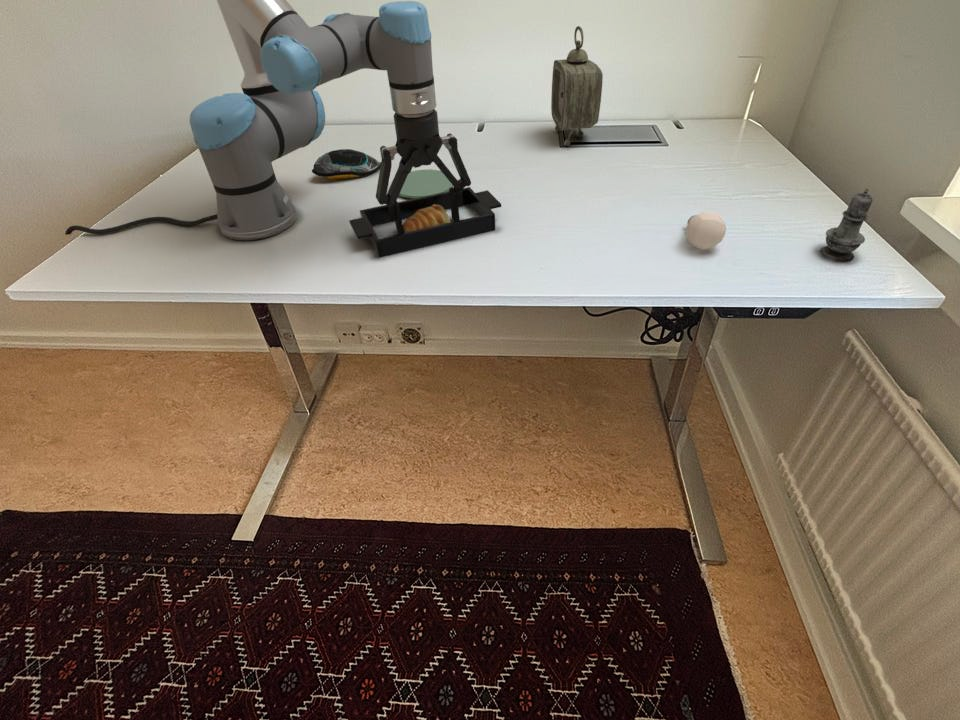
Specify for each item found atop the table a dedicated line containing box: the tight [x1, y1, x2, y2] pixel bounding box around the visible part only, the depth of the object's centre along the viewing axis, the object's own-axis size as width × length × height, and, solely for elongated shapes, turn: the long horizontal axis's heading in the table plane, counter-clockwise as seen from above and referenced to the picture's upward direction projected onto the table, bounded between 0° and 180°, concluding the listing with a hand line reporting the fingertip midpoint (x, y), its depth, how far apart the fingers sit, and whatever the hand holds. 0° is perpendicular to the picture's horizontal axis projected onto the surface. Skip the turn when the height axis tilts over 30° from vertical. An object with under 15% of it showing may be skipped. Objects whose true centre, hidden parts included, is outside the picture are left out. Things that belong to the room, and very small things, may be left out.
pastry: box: [402, 204, 451, 233], centre depth 105 cm, size 9×7×4 cm
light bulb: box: [685, 211, 727, 250], centre depth 97 cm, size 7×7×11 cm
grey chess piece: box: [819, 188, 874, 263], centre depth 90 cm, size 6×6×12 cm
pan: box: [349, 186, 502, 259], centre depth 105 cm, size 29×13×4 cm, turn 112°
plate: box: [398, 169, 454, 199], centre depth 121 cm, size 14×14×1 cm
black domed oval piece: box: [311, 148, 381, 180], centre depth 126 cm, size 9×17×6 cm, turn 116°
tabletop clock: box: [550, 25, 604, 147], centre depth 131 cm, size 14×9×25 cm, turn 6°
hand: (428, 227), depth 106 cm, fingers open, 11 cm apart
